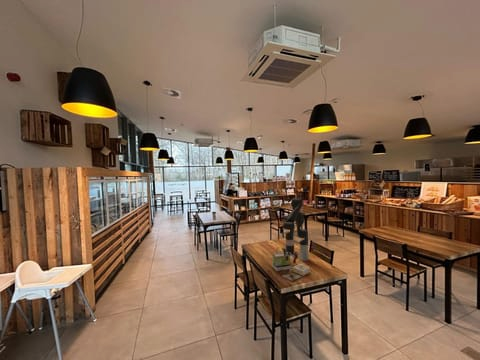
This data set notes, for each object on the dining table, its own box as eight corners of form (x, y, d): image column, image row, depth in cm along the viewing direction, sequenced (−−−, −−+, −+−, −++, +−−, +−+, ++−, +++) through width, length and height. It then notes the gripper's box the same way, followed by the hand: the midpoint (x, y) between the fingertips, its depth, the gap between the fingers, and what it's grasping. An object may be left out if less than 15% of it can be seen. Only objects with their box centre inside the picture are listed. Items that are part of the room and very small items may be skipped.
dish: (293, 272, 195) (293, 267, 195) (300, 268, 201) (300, 263, 201) (303, 276, 186) (302, 271, 186) (310, 272, 193) (309, 267, 193)
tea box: (276, 271, 198) (275, 256, 198) (273, 267, 208) (272, 253, 208) (290, 269, 201) (290, 254, 201) (286, 265, 211) (285, 251, 211)
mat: (279, 277, 186) (279, 276, 186) (290, 272, 195) (290, 271, 195) (292, 283, 174) (292, 283, 174) (303, 277, 183) (303, 277, 183)
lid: (281, 276, 186) (281, 269, 186) (290, 272, 193) (290, 265, 193) (292, 281, 176) (292, 274, 176) (301, 277, 184) (301, 269, 184)
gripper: (281, 243, 188) (282, 260, 188) (293, 246, 177) (294, 265, 177) (286, 241, 193) (287, 258, 193) (298, 244, 181) (299, 262, 181)
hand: (290, 261), depth 185 cm, fingers open, 8 cm apart
